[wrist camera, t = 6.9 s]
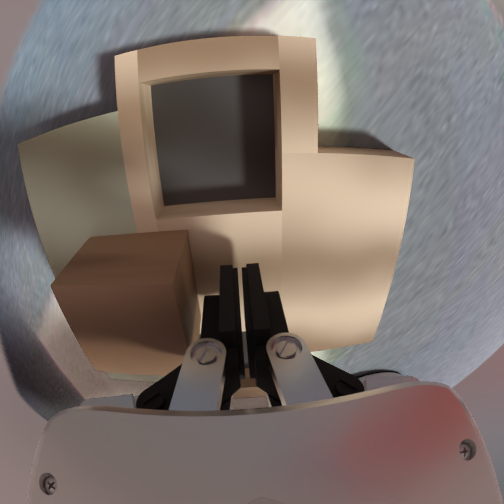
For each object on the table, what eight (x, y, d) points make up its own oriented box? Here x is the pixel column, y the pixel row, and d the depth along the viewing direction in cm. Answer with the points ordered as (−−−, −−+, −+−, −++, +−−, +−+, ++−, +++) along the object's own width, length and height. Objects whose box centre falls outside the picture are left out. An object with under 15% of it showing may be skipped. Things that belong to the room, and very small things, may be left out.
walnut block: (201, 315, 14) (196, 376, 11) (116, 316, 14) (95, 370, 11) (187, 229, 12) (172, 283, 8) (89, 236, 12) (50, 285, 8)
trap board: (349, 363, 21) (356, 381, 19) (126, 377, 20) (121, 396, 18) (394, 62, 10) (416, 59, 8) (35, 95, 9) (13, 97, 8)
